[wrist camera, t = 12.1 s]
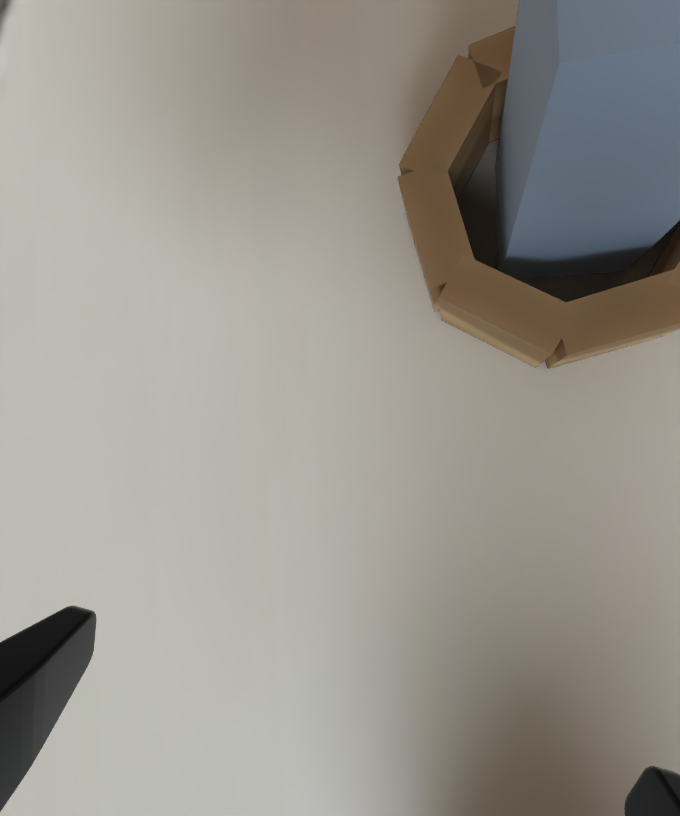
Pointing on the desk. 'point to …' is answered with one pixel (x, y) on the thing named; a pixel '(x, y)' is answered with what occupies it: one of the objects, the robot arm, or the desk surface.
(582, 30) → the light blue block
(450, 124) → the octagonal cardboard ring
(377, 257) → the desk surface
